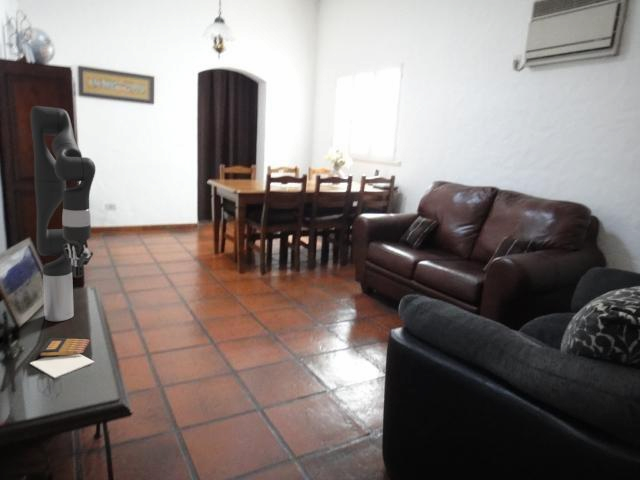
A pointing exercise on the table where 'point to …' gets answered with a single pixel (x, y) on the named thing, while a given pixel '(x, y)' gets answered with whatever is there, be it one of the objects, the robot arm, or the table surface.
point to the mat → (61, 364)
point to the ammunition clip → (63, 347)
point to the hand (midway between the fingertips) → (78, 276)
